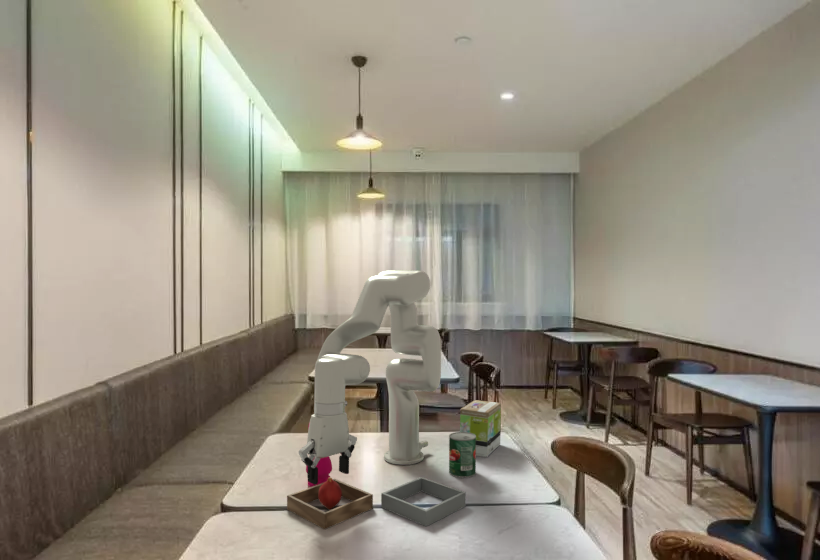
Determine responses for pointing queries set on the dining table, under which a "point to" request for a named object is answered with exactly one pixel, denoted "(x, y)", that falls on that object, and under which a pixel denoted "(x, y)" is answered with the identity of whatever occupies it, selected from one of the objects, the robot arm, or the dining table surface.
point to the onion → (329, 494)
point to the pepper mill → (322, 469)
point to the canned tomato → (462, 454)
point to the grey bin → (425, 517)
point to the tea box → (482, 425)
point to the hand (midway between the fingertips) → (328, 477)
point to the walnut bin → (337, 515)
